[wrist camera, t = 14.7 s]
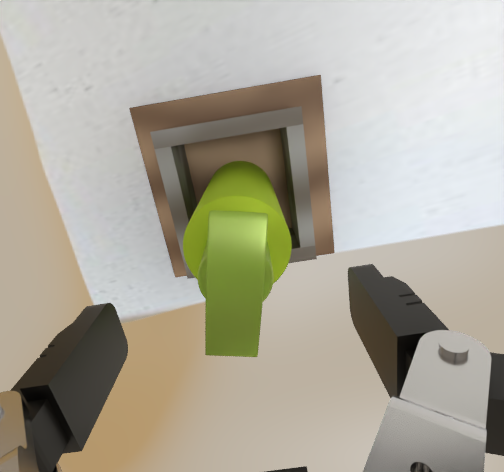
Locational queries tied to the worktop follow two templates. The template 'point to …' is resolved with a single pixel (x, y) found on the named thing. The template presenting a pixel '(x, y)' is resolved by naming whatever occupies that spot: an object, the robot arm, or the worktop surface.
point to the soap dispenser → (236, 255)
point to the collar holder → (241, 157)
